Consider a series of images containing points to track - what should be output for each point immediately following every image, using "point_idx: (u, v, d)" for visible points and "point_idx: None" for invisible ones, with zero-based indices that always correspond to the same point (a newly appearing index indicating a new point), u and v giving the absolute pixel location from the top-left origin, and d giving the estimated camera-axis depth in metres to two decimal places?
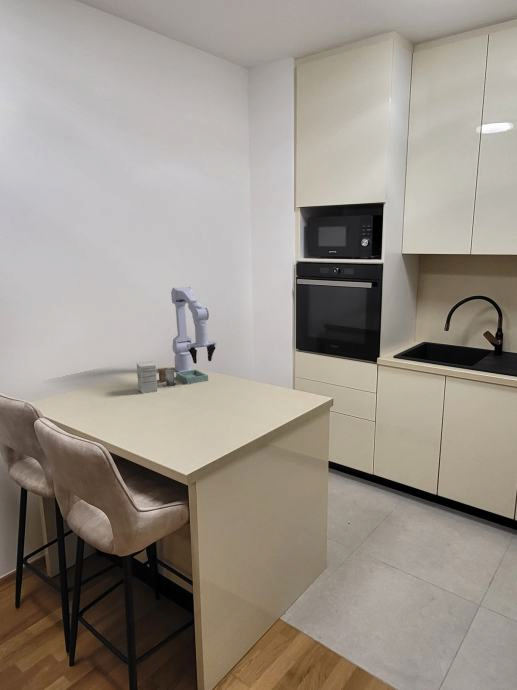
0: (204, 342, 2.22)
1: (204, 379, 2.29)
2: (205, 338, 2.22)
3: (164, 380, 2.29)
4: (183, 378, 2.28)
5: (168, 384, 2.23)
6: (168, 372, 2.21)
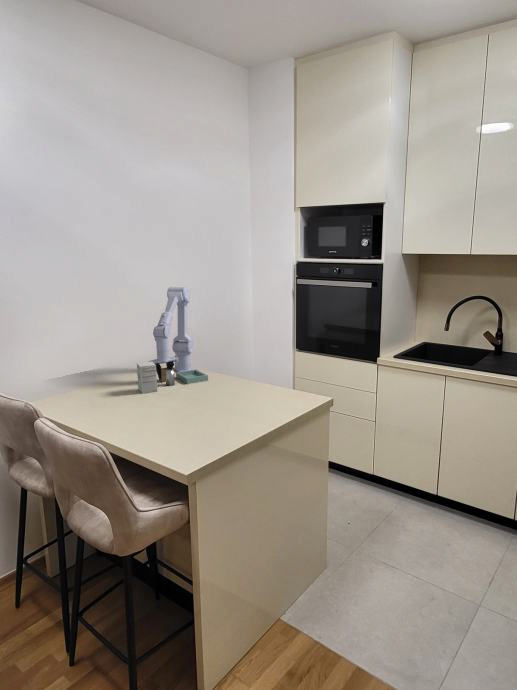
0: (165, 358, 2.27)
1: (204, 379, 2.29)
2: (166, 354, 2.27)
3: (164, 380, 2.29)
4: (183, 378, 2.28)
5: (168, 384, 2.23)
6: (168, 372, 2.21)
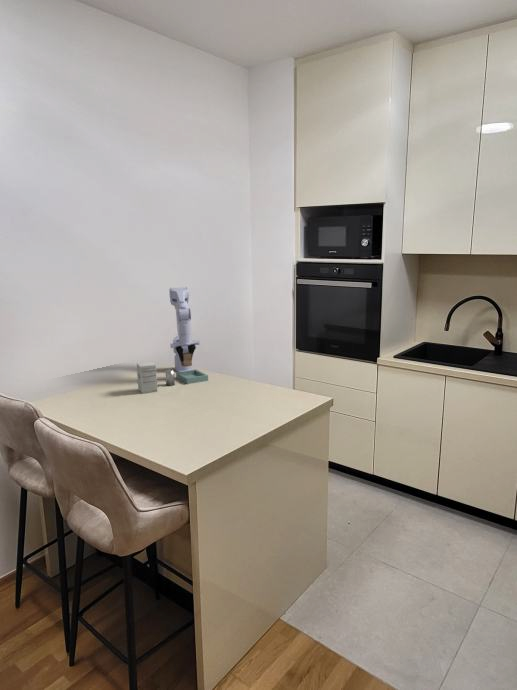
0: (187, 341, 2.30)
1: (204, 379, 2.29)
2: (188, 337, 2.30)
3: (186, 364, 2.32)
4: (183, 378, 2.28)
5: (168, 384, 2.23)
6: (168, 372, 2.21)
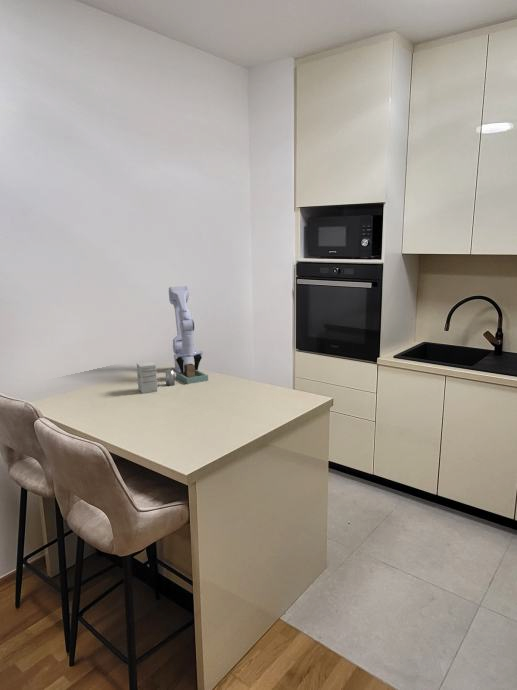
0: (190, 352, 2.31)
1: (204, 379, 2.29)
2: (191, 348, 2.31)
3: (189, 376, 2.34)
4: (183, 378, 2.28)
5: (168, 384, 2.23)
6: (168, 372, 2.21)
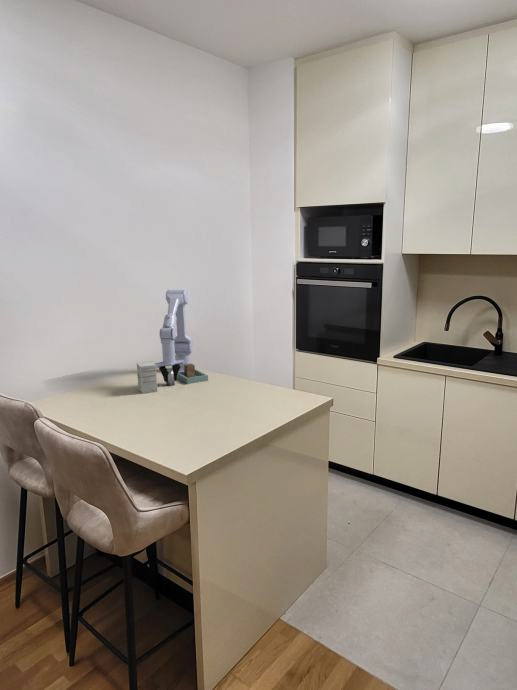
0: (171, 361, 2.20)
1: (204, 379, 2.29)
2: (172, 357, 2.20)
3: (189, 376, 2.34)
4: (183, 378, 2.28)
5: (168, 384, 2.23)
6: (168, 372, 2.21)
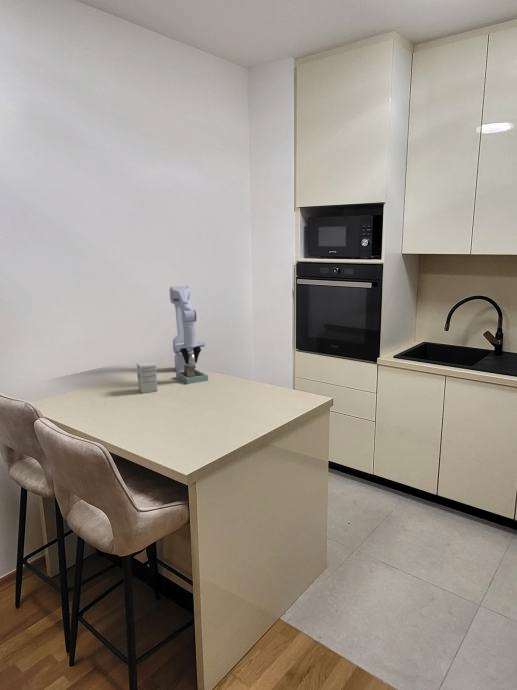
0: (192, 343, 2.24)
1: (204, 379, 2.29)
2: (193, 339, 2.25)
3: (189, 376, 2.34)
4: (183, 378, 2.28)
5: (189, 367, 2.27)
6: (189, 355, 2.26)
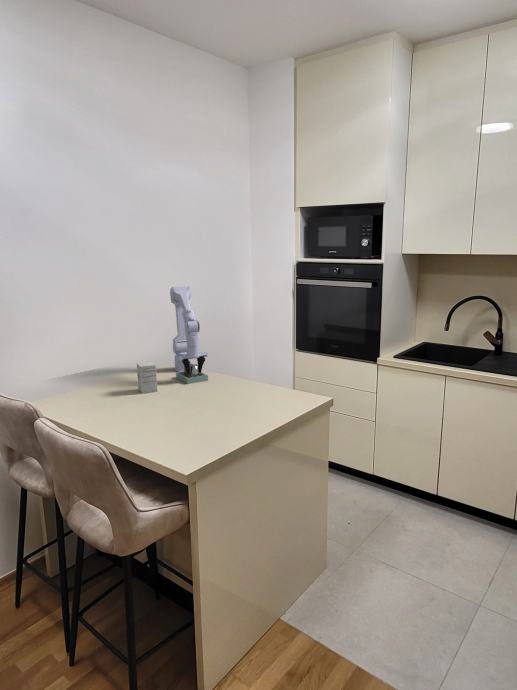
0: (195, 354, 2.26)
1: (204, 379, 2.29)
2: (196, 350, 2.26)
3: (189, 376, 2.34)
4: (183, 378, 2.28)
5: None
6: (192, 367, 2.28)
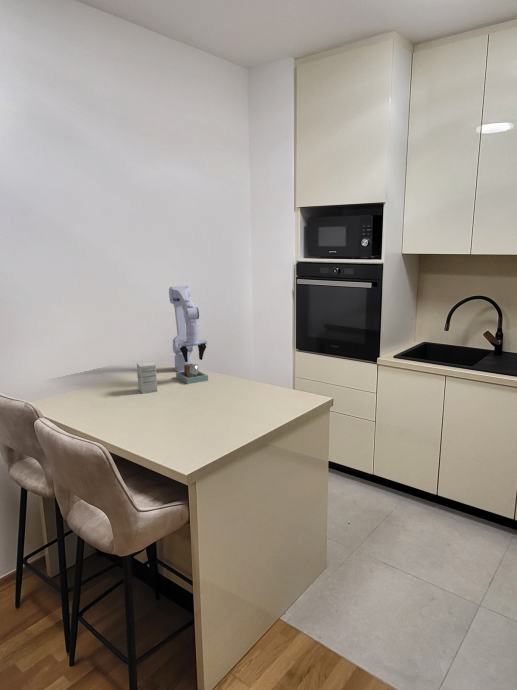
0: (195, 341, 2.25)
1: (204, 379, 2.29)
2: (196, 337, 2.25)
3: (189, 376, 2.34)
4: (183, 378, 2.28)
5: None
6: (192, 367, 2.28)
